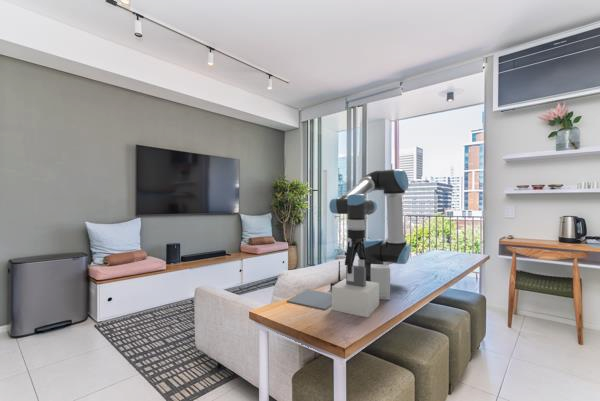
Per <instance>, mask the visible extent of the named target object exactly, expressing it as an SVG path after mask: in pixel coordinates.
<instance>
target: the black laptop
mask: <svg viewBox="0 0 600 401" xmlns="http://www.w3.org/2000/svg"><path fill="white" fill-rule="evenodd" d="M337 276H338V278H337V281H335V282H334V281H333V282H331V283H330V286H329V288H330V291H332V286H334V285H335V284H337V283H338V282H340V281H342V280H343V279H345V278H346V277H345V278H343V279H341V261H338V275H337Z"/></svg>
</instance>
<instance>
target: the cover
mask: <svg viewBox="0 0 600 401" xmlns="http://www.w3.org/2000/svg"><path fill="white" fill-rule="evenodd" d="M345 266H346V268H345V269H346V270H345V272H346V274H345V279H344V278H343V279H341V280H342V281H340V282H338V283H337V284H335V285H334V286H332V290H331V293H332V306H331V310H332V311H337V312H340V313H341V312H342V313H346V314H351V315H355V316H359V317H360V316H361V317H363V318H369V317H370V315H372V313H374V312H375V311H376V309H377V308H378V307H379V306H380V299H379V283H376V282H371V281H370V280H366V267H362V266H358V265H354V264H353V266H354V281H353V282H352V281H347V265H345Z"/></svg>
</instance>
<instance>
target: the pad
mask: <svg viewBox="0 0 600 401" xmlns="http://www.w3.org/2000/svg"><path fill="white" fill-rule="evenodd" d="M286 303H291V304H295V305H299V306H303V307H304V306H305V307H309V308H313V309H319V310H323V311H326V310H328V309H330V308H332V292H331V293H330V292H327V291H326V292H325V291H320V290H314V289H309V288H307V289H305V290H304V291H302V292H300V293H298V294H297V295H294V296H292V297H291V298H289V299H286Z"/></svg>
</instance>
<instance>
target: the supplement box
mask: <svg viewBox="0 0 600 401" xmlns="http://www.w3.org/2000/svg"><path fill="white" fill-rule="evenodd" d="M370 282H376V283H379V300H387V301H389V300H391V268H390V266H389V264H383V265H381V264H371V281H370Z"/></svg>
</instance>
